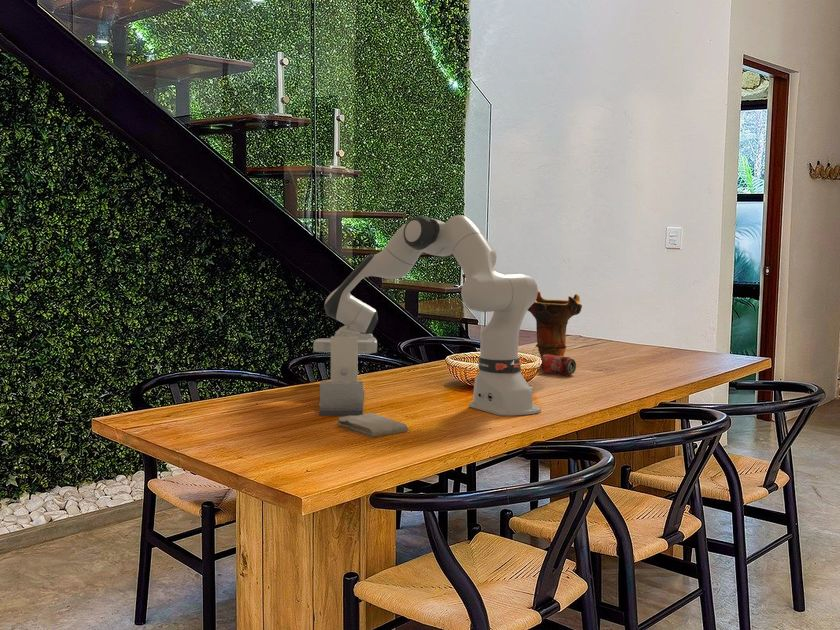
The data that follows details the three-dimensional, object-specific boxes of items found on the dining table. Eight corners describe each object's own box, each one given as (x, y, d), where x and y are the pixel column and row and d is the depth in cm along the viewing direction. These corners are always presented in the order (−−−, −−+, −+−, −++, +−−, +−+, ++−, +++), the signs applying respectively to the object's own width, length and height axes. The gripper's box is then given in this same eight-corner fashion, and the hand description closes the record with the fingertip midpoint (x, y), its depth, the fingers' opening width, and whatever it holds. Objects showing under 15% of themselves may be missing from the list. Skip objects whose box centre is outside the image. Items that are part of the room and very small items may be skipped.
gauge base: (324, 395, 277) (323, 368, 276) (364, 395, 277) (364, 368, 276) (317, 415, 247) (317, 385, 246) (362, 415, 247) (362, 385, 247)
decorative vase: (582, 364, 338) (580, 291, 336) (522, 365, 343) (519, 293, 341) (584, 357, 359) (582, 288, 356) (526, 358, 363) (524, 289, 361)
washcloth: (370, 421, 243) (370, 410, 243) (410, 433, 229) (410, 421, 229) (333, 426, 236) (333, 415, 236) (372, 440, 222) (372, 427, 222)
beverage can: (567, 377, 313) (567, 358, 312) (539, 373, 321) (539, 355, 320) (578, 375, 318) (578, 356, 318) (550, 371, 326) (550, 353, 326)
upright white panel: (324, 390, 274) (324, 335, 272) (357, 390, 274) (357, 335, 273) (322, 395, 266) (322, 338, 264) (357, 395, 266) (357, 338, 265)
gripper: (314, 332, 290) (311, 338, 276) (377, 333, 291) (377, 339, 277) (314, 352, 291) (311, 358, 277) (377, 352, 291) (376, 359, 278)
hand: (344, 349), depth 277 cm, fingers closed
